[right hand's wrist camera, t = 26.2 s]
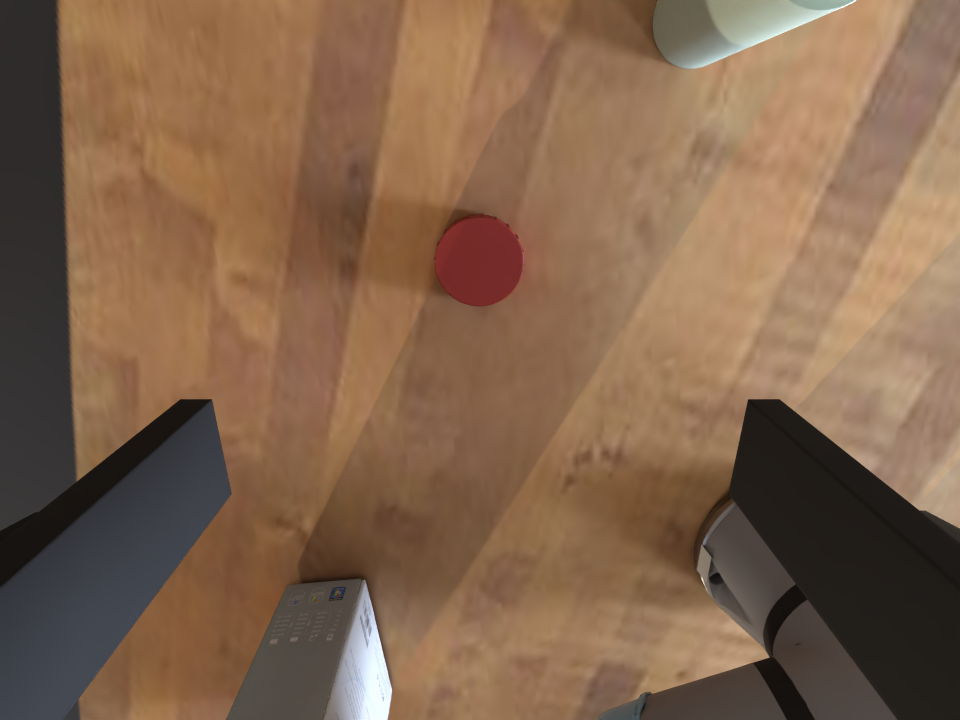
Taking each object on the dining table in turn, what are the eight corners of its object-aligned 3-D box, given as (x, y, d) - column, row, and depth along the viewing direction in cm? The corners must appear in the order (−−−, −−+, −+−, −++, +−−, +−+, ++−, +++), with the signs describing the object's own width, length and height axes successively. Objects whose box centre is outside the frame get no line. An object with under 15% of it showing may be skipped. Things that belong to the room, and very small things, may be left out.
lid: (429, 289, 38) (426, 296, 36) (446, 204, 35) (444, 206, 33) (510, 307, 38) (511, 315, 36) (531, 225, 36) (534, 228, 34)
